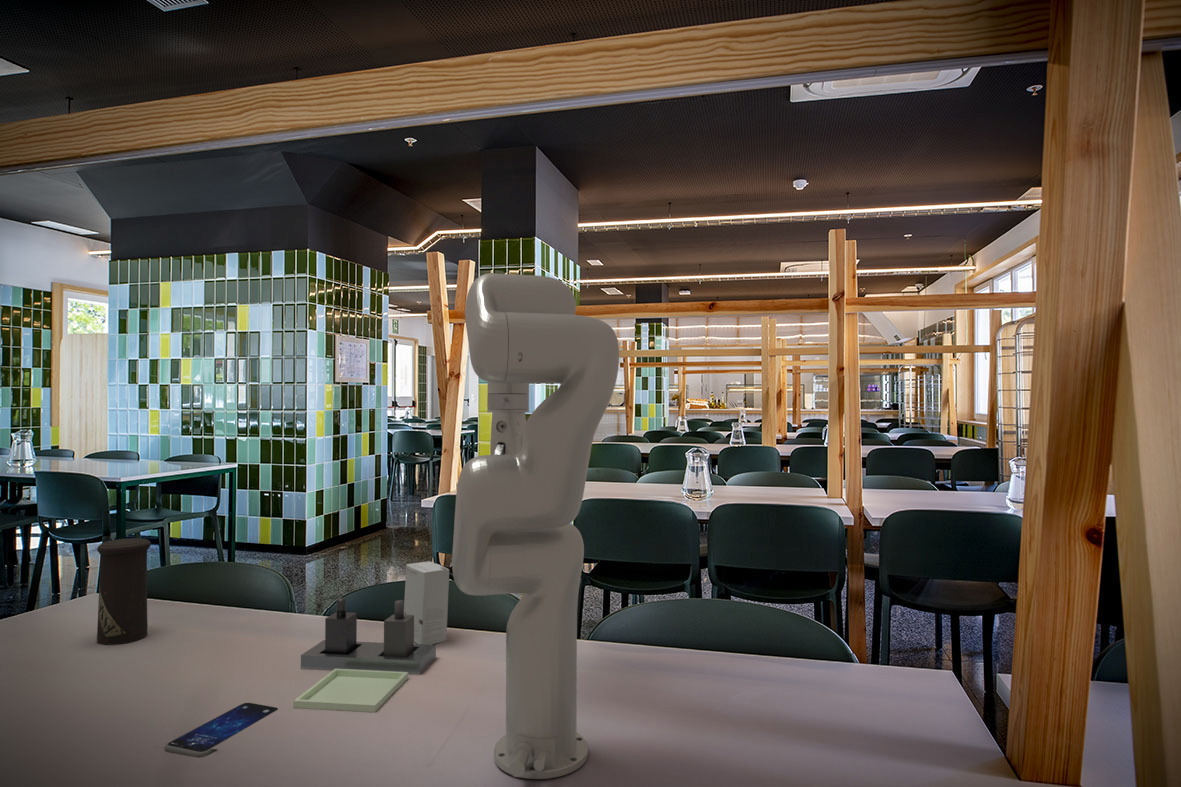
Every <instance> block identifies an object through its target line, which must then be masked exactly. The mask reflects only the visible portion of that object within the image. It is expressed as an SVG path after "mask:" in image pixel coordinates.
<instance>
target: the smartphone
mask: <svg viewBox="0 0 1181 787" xmlns="http://www.w3.org/2000/svg"><path fill="white" fill-rule="evenodd" d="M278 710H279V708H278V706H277V707H276V706H271V705H264V704H260V703H254V702H244V703H240V704H239V705H237V706H235V707H233V708H232V709H229V710H228V711H226V712H224V713H222V714H220V715H218V716H216V717H214V718H212V719H210V720H209V721H207V722H205V723H202V724H201V725H199V726H197V727H195V728H194V729H192V730H189V731H188V732H186V733H184V734H182V735H180V736H178V737H176V738H175V739H173V740H171V741H169V742H167V743H165V746H164V751H166V752H168V753H175V754H178V755H184V756H188V757H195V758H204V757H207V756H209V755H211V754H213V753H215V752H216V751H218V750H219V749H218V748H215V747H217V746H218V745H220V744H221V743H223V742H225V741H227V740H228V739H230V738H232V737H234V736H235V735H237V734H239V733H240V732H242V731H244V730H247V728H249V727H251V726H252V725H254V724H256V723H257V722H259V721H261V720H263V719H265V718H266V717H268V716H270V715H271V714H274V713H275V712H277V711H278Z"/></svg>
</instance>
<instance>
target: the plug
mask: <svg viewBox="0 0 1181 787" xmlns="http://www.w3.org/2000/svg"><path fill="white" fill-rule="evenodd" d="M383 643H384V657H404V658H408V657H409V656H410V655H411V654H412V653H413V652H414V644H415V642H414V615H404V600H403V599H399V600H398V599H397V600H395V601H394V614H392V615H390V616H389V617H387V618H386V619H385V620H383Z"/></svg>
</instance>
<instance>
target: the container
mask: <svg viewBox="0 0 1181 787" xmlns="http://www.w3.org/2000/svg"><path fill="white" fill-rule="evenodd" d="M151 546H152V542H151V541H150V540H148V539H147V538H142V537H141V538H140V537H134V538H133V537H132V538H118V539H111V540H106V541H104V542H102V543H100V544H98V546H97V549H96V550H97V552H98V553H99V555H100V557H99V558H100V559H99V560H100V561H99V582H98V584H99V586H98V606H97V608H98V610H97V628H96V630H97V632H96V641H97V643H98V644H102V645H120V644H126V643H131V642H135V641H138V640H141V639H143V638H145V637H146V636H147V635H148V550H149V548H150V547H151Z"/></svg>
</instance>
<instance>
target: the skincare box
mask: <svg viewBox="0 0 1181 787" xmlns="http://www.w3.org/2000/svg"><path fill="white" fill-rule="evenodd" d="M405 566H406V567H405V581H404V582H405V583H404V585H405V586H404V600H403V601H404V615H414V644H423V645H436V644H439V643H443V641H444V642H446V641H447V632H448V630H447V629H448V612H449V611H448V610H449V606H448V605H449V590H450V589H449V584H450V569H449V568H447V567H445V566H442V565H441V564H439V563H436V562H432V561H429V560H428V561H421V562H414V563H407V564H405Z"/></svg>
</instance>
